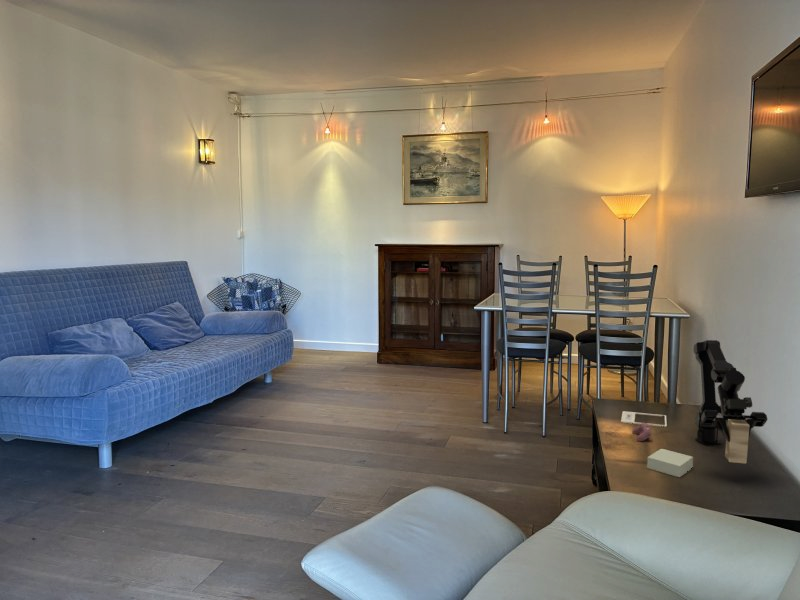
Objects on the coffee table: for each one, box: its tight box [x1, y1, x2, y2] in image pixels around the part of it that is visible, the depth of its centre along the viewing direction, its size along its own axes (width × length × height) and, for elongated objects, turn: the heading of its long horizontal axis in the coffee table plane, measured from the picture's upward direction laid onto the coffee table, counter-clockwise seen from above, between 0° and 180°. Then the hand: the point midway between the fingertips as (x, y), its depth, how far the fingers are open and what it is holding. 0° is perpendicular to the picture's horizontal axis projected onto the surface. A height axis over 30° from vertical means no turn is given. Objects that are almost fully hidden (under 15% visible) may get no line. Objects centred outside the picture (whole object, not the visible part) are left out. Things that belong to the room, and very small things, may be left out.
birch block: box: [724, 419, 750, 464], centre depth 188 cm, size 5×5×13 cm
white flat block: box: [646, 448, 694, 478], centre depth 200 cm, size 11×11×4 cm
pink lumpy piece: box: [632, 422, 653, 442], centre depth 229 cm, size 10×5×7 cm, turn 169°
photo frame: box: [620, 410, 668, 428], centre depth 250 cm, size 15×1×18 cm
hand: (738, 441), depth 187 cm, fingers closed on birch block, 5 cm apart
